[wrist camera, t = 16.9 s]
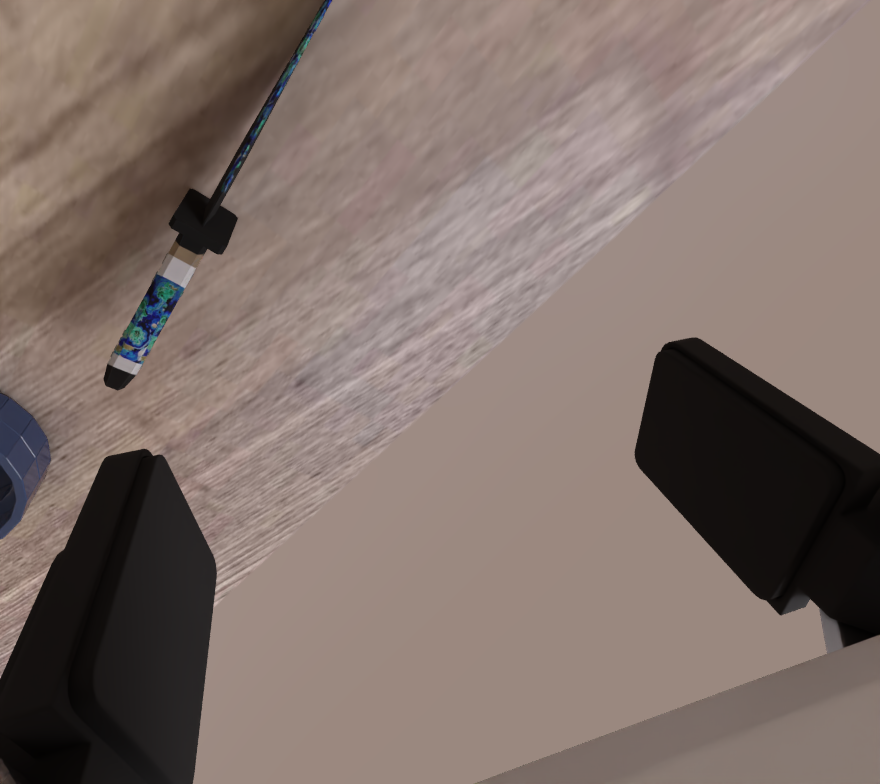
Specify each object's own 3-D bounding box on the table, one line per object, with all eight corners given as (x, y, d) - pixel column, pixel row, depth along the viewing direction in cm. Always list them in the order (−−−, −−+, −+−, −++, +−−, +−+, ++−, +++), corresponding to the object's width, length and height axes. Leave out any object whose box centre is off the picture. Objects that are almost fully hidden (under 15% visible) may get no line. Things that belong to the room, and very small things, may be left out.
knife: (135, 370, 34) (124, 400, 30) (87, 348, 33) (69, 377, 29) (403, -31, 29) (427, -53, 25) (362, -82, 27) (383, -112, 24)
